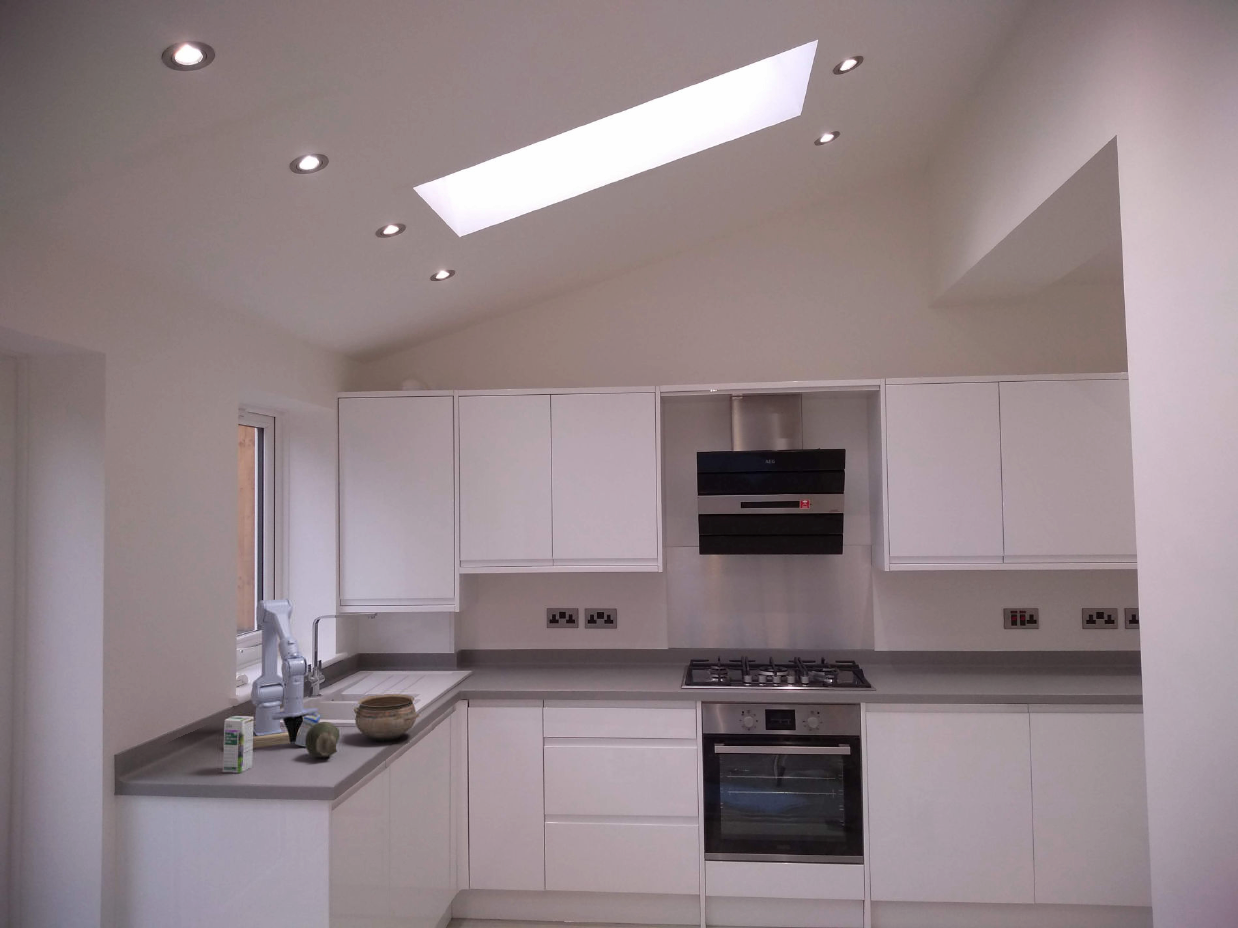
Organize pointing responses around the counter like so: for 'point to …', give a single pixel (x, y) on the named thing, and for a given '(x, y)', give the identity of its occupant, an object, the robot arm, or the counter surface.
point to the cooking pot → (385, 716)
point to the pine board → (270, 740)
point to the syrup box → (238, 744)
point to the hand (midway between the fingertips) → (292, 741)
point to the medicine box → (306, 728)
